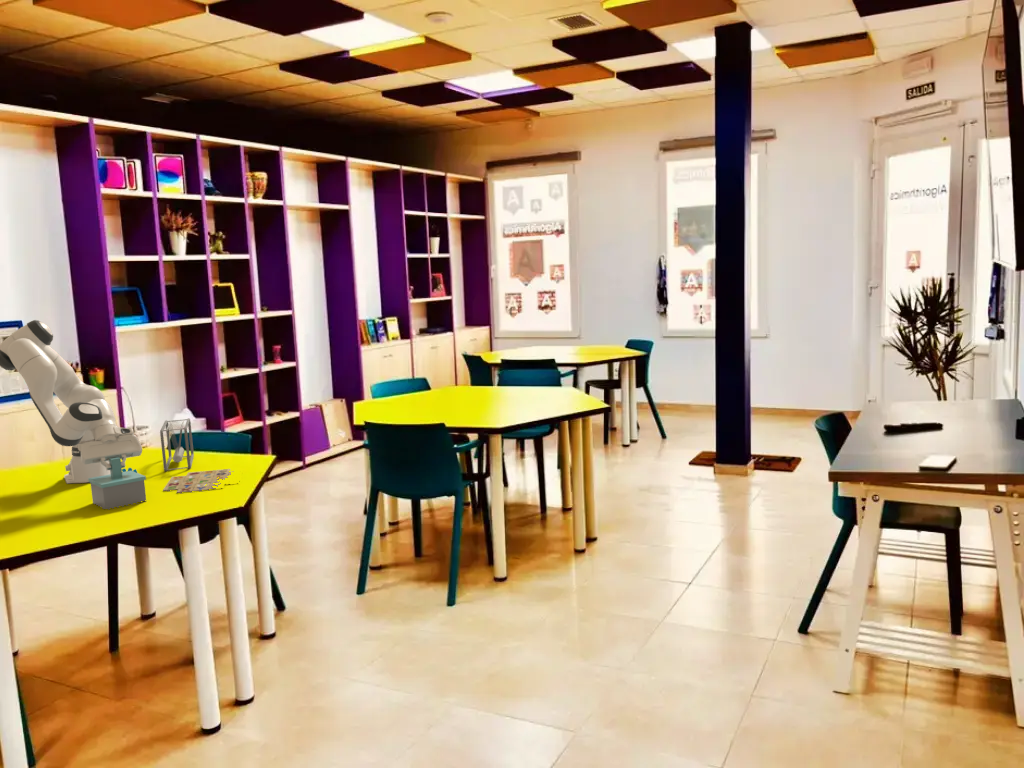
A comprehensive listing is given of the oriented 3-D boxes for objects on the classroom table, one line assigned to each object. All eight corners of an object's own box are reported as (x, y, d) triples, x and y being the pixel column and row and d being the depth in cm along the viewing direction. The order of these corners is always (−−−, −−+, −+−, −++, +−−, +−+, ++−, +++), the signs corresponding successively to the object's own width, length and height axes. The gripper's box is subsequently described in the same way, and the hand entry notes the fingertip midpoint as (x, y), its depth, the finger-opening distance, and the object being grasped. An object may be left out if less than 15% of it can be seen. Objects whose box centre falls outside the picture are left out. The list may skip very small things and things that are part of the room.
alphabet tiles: (160, 496, 313) (160, 493, 313) (173, 476, 345) (173, 473, 345) (238, 488, 320) (238, 485, 320) (244, 469, 352) (244, 466, 352)
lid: (88, 484, 306) (85, 459, 305) (131, 476, 316) (129, 452, 314) (102, 490, 295) (99, 465, 293) (146, 482, 305) (143, 457, 303)
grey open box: (92, 503, 307) (90, 481, 306) (133, 495, 316) (130, 474, 315) (105, 509, 296) (102, 487, 295) (146, 501, 306) (143, 479, 305)
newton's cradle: (190, 469, 355) (186, 427, 353) (164, 472, 352) (159, 430, 350) (194, 456, 384) (190, 417, 381) (169, 458, 381) (165, 419, 378)
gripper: (76, 436, 302) (84, 468, 296) (137, 428, 314) (146, 458, 308) (75, 447, 307) (83, 478, 300) (135, 438, 318) (144, 468, 312)
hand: (116, 467), depth 304 cm, fingers closed on lid, 3 cm apart
